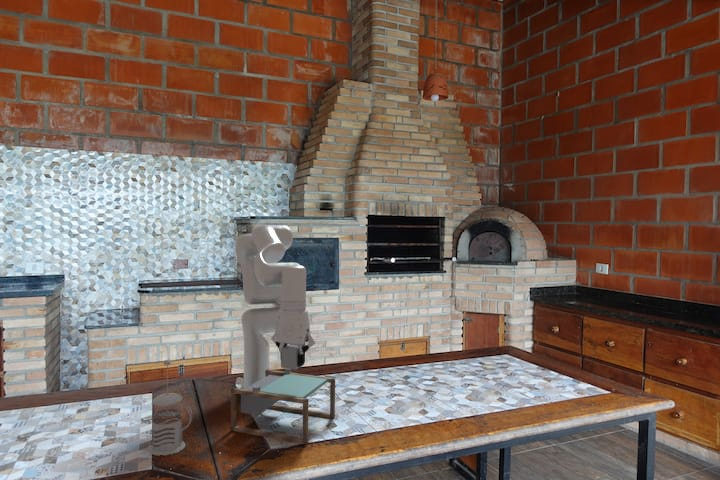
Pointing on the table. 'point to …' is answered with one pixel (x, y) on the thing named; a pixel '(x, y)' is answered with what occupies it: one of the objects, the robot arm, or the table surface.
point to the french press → (167, 424)
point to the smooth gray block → (289, 357)
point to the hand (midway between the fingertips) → (292, 363)
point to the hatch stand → (282, 408)
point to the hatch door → (279, 390)
